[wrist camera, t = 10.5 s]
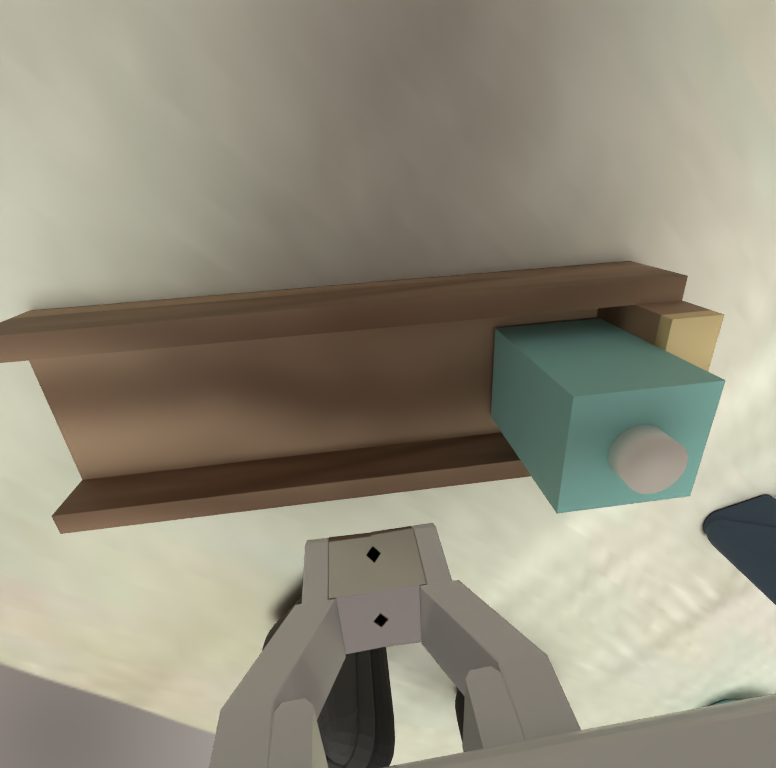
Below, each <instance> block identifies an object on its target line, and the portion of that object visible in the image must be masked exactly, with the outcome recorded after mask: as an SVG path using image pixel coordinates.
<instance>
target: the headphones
mask: <svg viewBox="0 0 776 768" xmlns="http://www.w3.org/2000/svg"><path fill="white" fill-rule="evenodd" d="M298 604H302V596H301V597H300V598H299V599H298V600H297V601H296V603H295V604H294V605H293V606H292V607H291V608H290V609H289V610H288V611H287V612H286V613H285V614H284V615H283V616H282V617H281V618H280V620H279V621H278V622H277V623H276V624H275V625H274V626H273V627H272V629H271V630H270V632H269V633H268V635H267V637H266V640H265V642H264V646H263V650H264V648H265V647H266V645H267V644H268V642H269V641H270V640H271V638H272V637H273V635H274V634H275V633H276V631H277V630H278V628H279V627H280V625H281V624H282V623H283V621H284V620H285V618H286V617H287V616H288V614H289V613H290V611H291V610H292V609H293V607H294V606H295V605H298ZM383 645H384V644H383ZM263 650H262V651H263ZM345 656H346V658H345V660H344V662H343V664H342V666H341V669H340V671H339V673H338V675H337V677H336V679H335V682H334V684H333V686H332V688H331V690H330V693H329V695H328V697H327V699H326V701H325V703H324V706H323V708H322V710H321V712H320V714H319V717H318V719H317V724H318V728H319V732H320V736H321V740H322V744H323V748H324V752H325V756H326V760H327V764H328V768H383V767H388V766H389V765H390V763H391V761H392V758H393V754H394V745H395V731H394V714H393V705H392V696H391V688H390V679H389V670H388V661H387V653H386V647H381V648H376V649H370V650H365V651H360V652H355V653H350V654H345ZM464 701H465V696H464V695H463V694H462V693H461V691H460V690H458V692H457V695H456V700H455V709H456V715H457V722H458V726H459V730H460V735H461V739H462V743H463V723H464Z"/></svg>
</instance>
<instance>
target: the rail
mask: <svg viewBox="0 0 776 768" xmlns="http://www.w3.org/2000/svg"><path fill="white" fill-rule="evenodd" d="M687 277H688V276H686V275H682V274H678V273H675V272H671V271H667V270H663V269H659V268H655V267H651V266H647V265H643V264H639V263H635V262H631V261H625V262H613V263H601V264H589V265H577V266H565V267H553V268H541V269H529V270H517V271H504V272H492V273H480V274H468V275H456V276H444V277H432V278H420V279H408V280H396V281H383V282H371V283H359V284H347V285H335V286H323V287H311V288H299V289H287V290H274V291H262V292H250V293H238V294H226V295H214V296H202V297H190V298H178V299H166V300H153V301H141V302H129V303H117V304H105V305H93V306H81V307H69V308H57V309H45V310H32V311H28V312H25V313H23V314H20V315H18V316H15V317H13V318H11V319H8V320H6V321H3V322H1V323H0V363H4V362H15V361H26V360H29V362H30V364H31V366H32V368H33V370H34V373H35V375H36V377H37V379H38V382H39V384H40V386H41V388H42V391H43V393H44V395H45V397H46V399H47V402H48V404H49V406H50V408H51V411H52V413H53V415H54V417H55V419H56V422H57V424H58V426H59V428H60V431H61V433H62V435H63V437H64V440H65V442H66V444H67V446H68V448H69V451H70V453H71V455H72V457H73V460H74V462H75V464H76V466H77V468H78V471H79V473H80V475H81V477H82V481H81V482H80V484H79V485H78V486H77V487H76V488H75V489H74V491H73V492H72V493H71V494H70V495H69V496H68V498H67V499H66V500H65V501H64V502H63V503H62V505H61V506H60V507H59V508H58V509H57V510H56V512H55V513H54V514H53V515H52V518H53V520H54V522H55V524H56V526H57V528H58V530H59V532H60V534H63V533H71V532H79V531H87V530H95V529H104V528H112V527H120V526H128V525H136V524H144V523H153V522H161V521H169V520H177V519H185V518H193V517H201V516H210V515H218V514H226V513H234V512H242V511H250V510H259V509H267V508H275V507H283V506H291V505H299V504H308V503H316V502H324V501H332V500H340V499H348V498H357V497H365V496H373V495H381V494H389V493H397V492H406V491H414V490H422V489H430V488H438V487H446V486H455V485H463V484H471V483H479V482H487V481H495V480H503V479H512V478H520V477H528V476H531V475H530V473H529V472H528V470H527V469H526V467H525V466H524V465H523V463H522V462H521V460H520V459H519V457H518V456H517V454H516V453H515V451H514V450H513V448H512V447H511V445H510V444H509V443H508V441H507V440H506V438H505V437H504V435H503V434H502V432H501V431H500V429H499V428H498V426H497V425H496V423H495V422H494V421H493V419H492V418H491V402H492V383H493V363H494V343H495V328H503V327H514V326H524V325H535V324H546V323H557V322H567V321H578V320H589V319H599V318H600V319H602V320H604V321H606V322H609V323H611V324H613V325H615V326H617V327H619V328H621V329H623V330H625V331H627V332H629V333H631V334H633V335H635V336H637V337H639V338H641V339H643V340H645V341H647V342H649V343H651V344H653V345H655V346H657V347H659V348H661V349H663V350H665V351H667V352H669V353H671V354H673V355H675V356H677V357H679V358H681V359H683V360H685V361H687V362H689V363H691V364H693V365H695V366H697V367H699V368H701V369H703V370H705V371H707V372H708V370H709V366H710V363H711V359H712V356H713V352H714V349H715V345H716V342H717V338H718V335H719V331H720V328H721V324H722V321H723V317H724V314H721V313H718V312H715V311H712V310H709V309H706V308H703V307H700V306H697V305H694V304H691V303H688V302H685V301H682V298H683V294H684V289H685V285H686V281H687Z"/></svg>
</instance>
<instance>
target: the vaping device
mask: <svg viewBox="0 0 776 768" xmlns="http://www.w3.org/2000/svg"><path fill="white" fill-rule="evenodd" d="M704 532H705V533H706V534H707V537H708V540H709V541H710V542H711V544H712V545H713V546H714V547H715V548H716V549H717V550H718V551H719V552H720V553H721V554H723V555H724V556H725V557H726V558H727V559H728V560H729V561H730V562H731V563H732V564H733V565H734V566H735V567H736V568H737V569H738V570H739V571H740V572H742V573H743V574H744V575H745V576H746V577H747V578H748V579H749V580H750V581H751V582H752V583H753V584H754V585H755V586H756V587H757V588H758V589H759V590H761V591H762V592H763V593H764V594H765V595H766V596H767V597H768V598H769V599H770V600H771V601H772V602H773V603H774V604H775V605H776V499H774V498H773V497H772V496H770V495H764V496H761V497H758V498H755V499H751V500H748V501H745V502H742V503H740V504H737V505H734V506H731V507H728V508H725V509H722V510H719V511H716V512H714V513H712V514H711V515H710V516H709V517H708V518H707V519H706V521H705V523H704Z"/></svg>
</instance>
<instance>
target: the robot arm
mask: <svg viewBox="0 0 776 768" xmlns="http://www.w3.org/2000/svg"><path fill="white" fill-rule="evenodd" d="M417 642H422V644H423V646H424V647H425V648H426V649H427V651H428V652H429V653H430V654H431V656H432V657H433V658H434V659H435V660H436V662H437V663H438V664H439V665H440V667H441V668H442V669H443V670H444V672H445V673H446V674H447V675H448V677H449V678H450V679H451V680H452V682H453V683H454V684H455V685H456V686H457V688H458V689H459V690H460V691H461V693H462V694H463V695H464V696H465V701H464V723H463V744H462V747H463V751H464V752H463V753H457V754H452V755H447V756H441V757H436V758H431V759H426V760H420V761H415V762H410V763H404V764H399V765H394V766H388V767H383V768H776V694H770V695H765V696H760V697H755V698H749V699H744V700H739V701H734V702H728V703H723V704H718V705H712V706H707V707H702V708H697V709H691V710H686V711H681V712H675V713H670V714H665V715H660V716H654V717H649V718H644V719H638V720H633V721H628V722H622V723H617V724H612V725H606V726H601V727H596V728H590V729H585V730H581V729H580V726H579V724H578V722H577V720H576V718H575V715H574V713H573V711H572V709H571V707H570V704H569V702H568V700H567V698H566V696H565V693H564V691H563V689H562V687H561V685H560V682H559V680H558V678H557V676H556V674H555V671H554V669H553V667H552V665H551V662H550V660H549V658H548V656H547V655H546V654H545V653H544V652H543V651H542V650H540V649H539V648H538V647H537V646H536V645H535V644H533V643H532V642H531V641H530V640H529V639H528V638H526V637H525V636H524V635H523V634H522V633H520V632H519V631H518V630H517V629H516V628H515V627H513V626H512V625H511V624H510V623H509V622H507V621H506V620H505V619H504V618H503V617H502V616H500V615H499V614H498V613H497V612H496V611H495V610H493V609H492V608H491V607H490V606H489V605H487V604H486V603H485V602H484V601H483V600H482V599H480V598H479V597H478V596H477V595H476V594H474V593H473V592H472V591H471V590H470V589H469V588H467V587H466V586H465V585H464V584H463V583H462V582H460V581H459V580H456V581H452V579H451V575H450V572H449V569H448V566H447V562H446V559H445V556H444V553H443V549H442V546H441V543H440V540H439V536H438V533H437V530H436V527H435V525H434V524H433V523H429V524H422V525H415V526H408V527H402V528H395V529H389V530H382V531H375V532H371V533H363V534H355V535H346V536H337V537H329V538H323V539H315V540H307V542H306V545H305V557H304V573H303V590H302V604H298V605H295V606H294V607H293V609H292V610H291V611H290V613H289V614H288V616H287V617H286V618H285V620H284V621H283V623H282V624H281V625H280V627H279V628H278V630H277V631H276V633H275V634H274V635H273V637H272V638H271V640H270V641H269V642H268V644H267V645H266V647H265V648H264V650H263V651H262V652H261V654H260V655H259V657H258V658H257V659H256V661H255V662H254V664H253V665H252V666H251V668H250V669H249V671H248V672H247V674H246V675H245V676H244V678H243V679H242V681H241V682H240V683H239V685H238V686H237V688H236V689H235V691H234V692H233V693H232V695H231V696H230V698H229V699H228V700H227V702H226V703H225V705H224V706H223V707H222V709H221V711H220V716H219V720H218V725H217V730H216V735H215V741H214V745H213V750H212V756H211V761H210V765H209V768H328V764H327V760H326V756H325V752H324V748H323V744H322V740H321V736H320V732H319V728H318V724H317V719H318V717H319V714H320V712H321V710H322V708H323V706H324V703H325V701H326V699H327V697H328V695H329V693H330V690H331V688H332V686H333V684H334V682H335V679H336V677H337V675H338V673H339V671H340V669H341V666H342V664H343V662H344V660H345V658H346V656H345V654H350V653H355V652H360V651H365V650H370V649H376V648H381V647H387V646H394V645H402V644H409V643H417ZM383 644H384V645H383Z"/></svg>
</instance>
